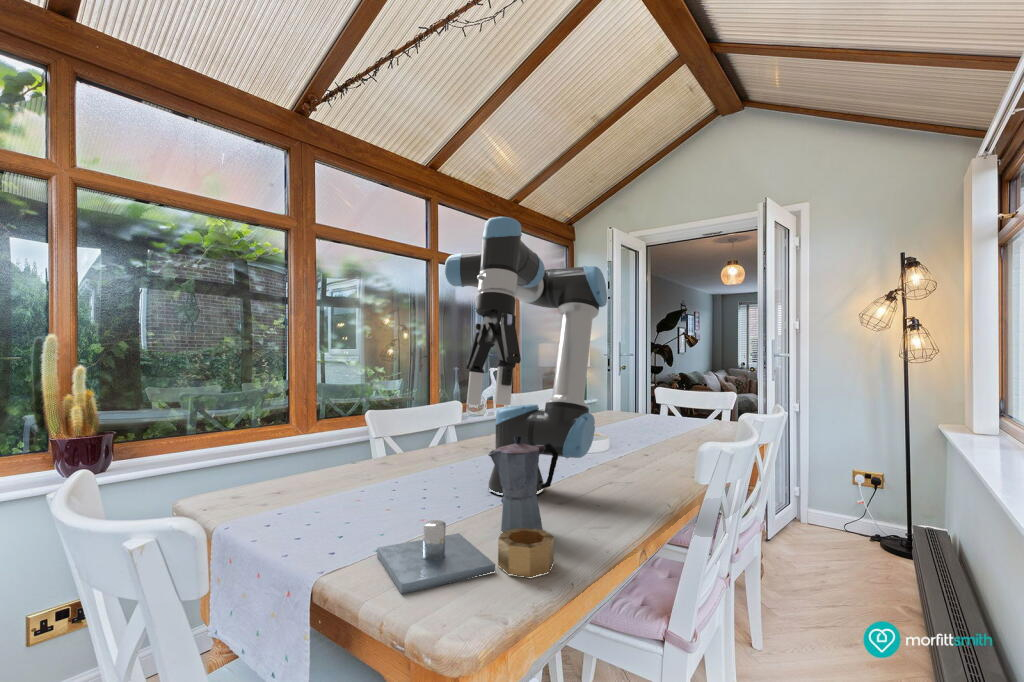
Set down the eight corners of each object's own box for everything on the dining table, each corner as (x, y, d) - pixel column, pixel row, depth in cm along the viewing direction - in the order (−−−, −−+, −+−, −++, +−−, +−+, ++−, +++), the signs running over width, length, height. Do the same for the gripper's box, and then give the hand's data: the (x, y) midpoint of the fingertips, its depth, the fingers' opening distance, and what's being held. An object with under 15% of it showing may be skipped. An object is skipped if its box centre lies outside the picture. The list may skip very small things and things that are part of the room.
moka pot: (480, 527, 103) (482, 433, 104) (546, 520, 109) (547, 430, 109) (495, 544, 94) (496, 440, 95) (566, 535, 100) (567, 437, 100)
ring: (534, 552, 91) (534, 525, 91) (562, 571, 83) (562, 541, 83) (491, 561, 86) (491, 533, 87) (516, 582, 78) (516, 551, 79)
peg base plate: (458, 541, 96) (459, 505, 96) (495, 573, 82) (495, 531, 82) (377, 555, 88) (377, 517, 88) (401, 594, 74) (402, 547, 74)
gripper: (456, 304, 104) (446, 403, 101) (507, 276, 82) (496, 402, 78) (488, 310, 107) (479, 406, 104) (545, 285, 85) (536, 406, 82)
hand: (486, 404), depth 91 cm, fingers open, 13 cm apart
